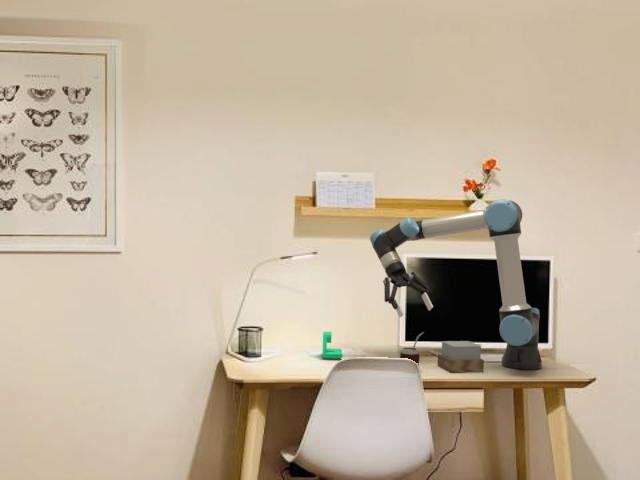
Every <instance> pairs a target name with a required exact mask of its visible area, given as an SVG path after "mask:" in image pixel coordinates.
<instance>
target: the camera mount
mask: <svg viewBox="0 0 640 480" xmlns="http://www.w3.org/2000/svg"><path fill="white" fill-rule="evenodd" d="M332 335H333V334H332V331H322V354H321V357H322V359H329V360H331V359H335V360H337V359H338V360H340V359H339V358H342V359H343V350H342V348H328V344H332Z"/></svg>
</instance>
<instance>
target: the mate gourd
mask: <svg viewBox="0 0 640 480" xmlns="http://www.w3.org/2000/svg"><path fill="white" fill-rule="evenodd" d="M424 333H425V332H424V331H423V332H421V333H420V334H418V335H417V336H416V338H415V342H414V344H413V346H412V347H403V348H402V349H401V351H400V353H399V354H400V355H399V359H400V358H408V359H411V360H413V361H415V362H416V363H418V365H420V364H419V363H420V358H421V357H420V352H419V350H418V349H417V348H415V347H416V345H417V342H418V340H419V339H420V337H421V336H422V335H423V334H424Z"/></svg>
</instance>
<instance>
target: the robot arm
mask: <svg viewBox="0 0 640 480" xmlns="http://www.w3.org/2000/svg"><path fill="white" fill-rule="evenodd" d="M522 219H523V210H522V208H521V206H520V205H519V204H517V203H516V202H515V201H513V200H510V199H509V200H508V199H506V198H504V199H503V198H502V199H501V198H500V199H497V200H494V201H492V202H491V203H490V204H488V206H485V207H484V209H479V210H474V211H469V212H467V211H466V212H464V213H463V212H462V213H456V214H451V215H444V216H439V217H434V218H433V217H432V218H427V219H423V220H416V221H415V219H414V218H412V217H410V216H408V217H406V218H404V219H403V220H400V221H399V223H397V224H395V226H393V227H391V228H390V229H389V230H386V229H381V228H380V229H378V230H375V231H374V232H373V233H372V234H371V235H370V236H369V241H370V243H371V245H372V246H371V247H372V249H373V250H374V252H375V254H376V255H377V258H378V260H379V262H380V263H381V266H382V267H383V269H384V272H385V274H386V275H387V276H386V277H385V278H384V279H383V281H382V282H383V285H384V302H385V303H388V304H390V305H391V306H392V309H393V310H395V311H396V314H397V315H398V317H399V318H402V317H403V315H405V312H404V310H403V308H402V307H401V305H400V303H399V301H398V299H397V298H396V295H397V291H398V288H403V287H407V288H411V289H412V290H414V291H416V292H417V293H419V294H420V295H421V296H420V297H421V298H422V301H423V302H424V304H425V306H426V308H427V310H428V311H431V310H432V309H433V308H434V305H433V304H432V301H431V297H430V294H429V291H431V288H430V286H428V285H427V284H426V283H425V282H424V281H423V280H422V279H420V277H419V276H417V273H415V271H412V272H411V273H407V271H406V269H407V268H406V266H405V265H404V263H403V262H402V259H401V257H400V255H399V254H398V252H397V248H398V247H400V246H402V245H403V244H404V243H406V242H410V241H412V242H413V241H419V240H425V239H428V238H429V239H430V238H431V239H432V238H435V237H436V238H437V237H442V236H443V237H444V236H449V235H454V234H455V235H457V234H461V233H468V232H474V231H480V230H481V231H482V230H486V229H487V230H488V235H489V239H491V240H492V241H493V243H494V250H495V256H496V258H495V259H496V263H497V264H496V265H497V271H498V280H499V287H500V293H501V294H500V295H501V302H502V306H501V307H500V308H499V310H498V311H499V320H500V324H499V334H500V337H501V339H502V340H503V341H504V342H505V343H506V347H505V349H504V352H503V354H502V357H501V366H504V367H506V368H509V369H515V370H526V371H527V370H528V371H529V370H530V371H533V370H534V371H535V370H539V369H542V366H543V361H542V358H541V354H540V350H539V332H540V331H539V328H540V325H539V324H540V317H541V316H540V309H538V308H537V307H532V306H531V305H530V304H529V303H527V298H526V290H525V283H524V276H523V275H524V274H523V269H522V261H521V260H522V259H521V253H520V246H519V237H520V236H521V235H522V230H521V222H522ZM391 284H393V285H392V290H391Z"/></svg>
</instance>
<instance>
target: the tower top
mask: <svg viewBox="0 0 640 480" xmlns="http://www.w3.org/2000/svg"><path fill="white" fill-rule="evenodd" d="M441 354H442V355H444V356H446V357H448V358H450V359H451V360H480V359H482V356H481V355H482V346H481V345H479V344H476V343H474V342H472V341H470V340H459V341H457V340H454V341H453V340H447V341H444V340H442V341H441Z"/></svg>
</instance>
